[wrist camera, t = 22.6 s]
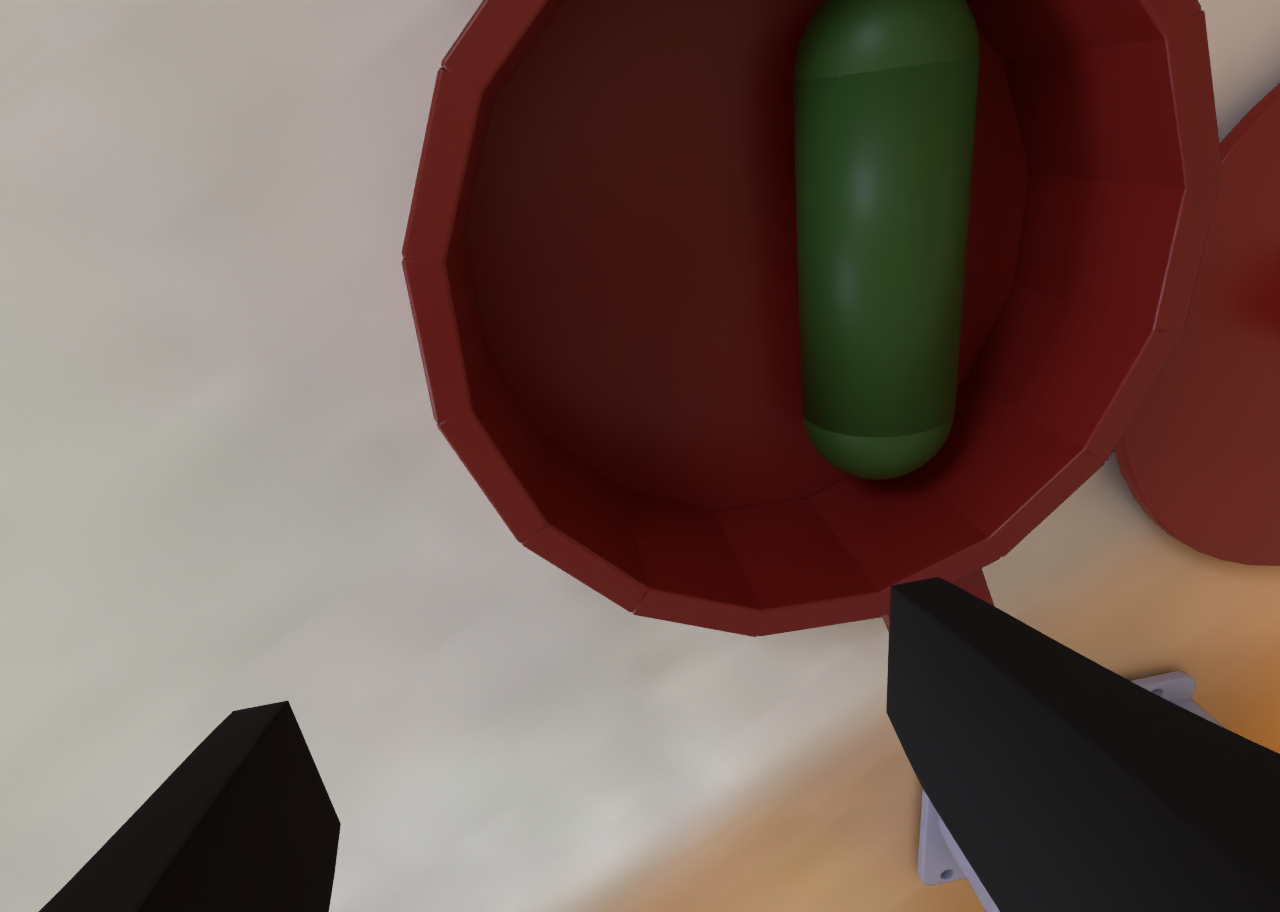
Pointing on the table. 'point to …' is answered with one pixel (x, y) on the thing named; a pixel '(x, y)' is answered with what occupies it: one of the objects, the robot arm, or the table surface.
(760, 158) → the pot
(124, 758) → the table surface
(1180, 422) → the lid
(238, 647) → the table surface
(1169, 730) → the robot arm
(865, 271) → the cucumber
